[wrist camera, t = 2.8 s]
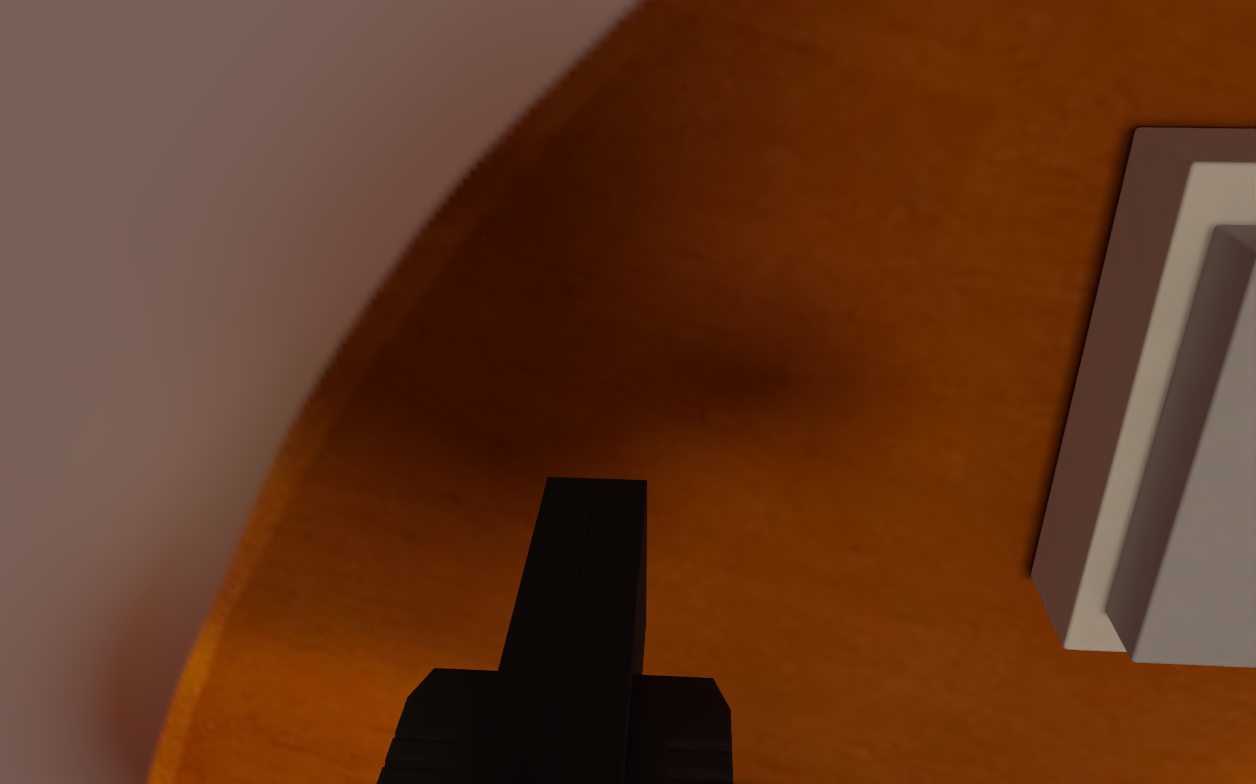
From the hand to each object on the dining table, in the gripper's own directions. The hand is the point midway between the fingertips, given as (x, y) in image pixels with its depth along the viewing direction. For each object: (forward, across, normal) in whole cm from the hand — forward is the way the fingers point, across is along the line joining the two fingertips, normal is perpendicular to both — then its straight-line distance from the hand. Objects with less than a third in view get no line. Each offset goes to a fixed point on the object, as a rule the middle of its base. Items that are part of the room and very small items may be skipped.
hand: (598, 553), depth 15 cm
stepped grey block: (+6, +12, 0) cm, 13 cm away
